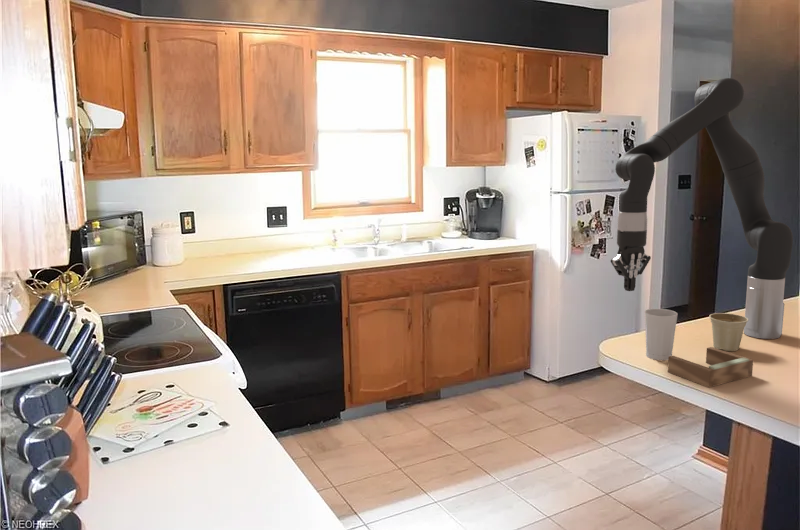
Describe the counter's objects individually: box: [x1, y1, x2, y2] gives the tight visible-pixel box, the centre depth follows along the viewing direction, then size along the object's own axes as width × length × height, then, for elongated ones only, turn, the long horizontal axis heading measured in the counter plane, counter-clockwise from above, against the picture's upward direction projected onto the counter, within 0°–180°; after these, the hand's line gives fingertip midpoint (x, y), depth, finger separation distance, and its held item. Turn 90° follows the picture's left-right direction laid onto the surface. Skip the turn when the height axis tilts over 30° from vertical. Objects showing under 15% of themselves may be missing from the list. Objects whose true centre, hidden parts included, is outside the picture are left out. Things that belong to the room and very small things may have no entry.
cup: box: [644, 308, 679, 361], centre depth 161 cm, size 8×8×12 cm
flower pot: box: [708, 312, 748, 352], centre depth 167 cm, size 9×9×9 cm
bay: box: [667, 346, 754, 388], centre depth 148 cm, size 15×12×4 cm
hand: (629, 290), depth 169 cm, fingers closed
